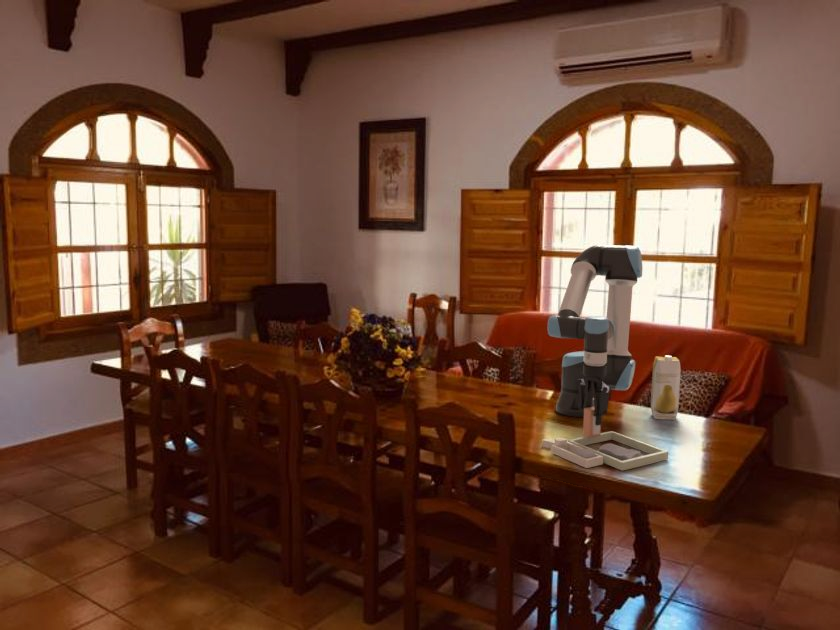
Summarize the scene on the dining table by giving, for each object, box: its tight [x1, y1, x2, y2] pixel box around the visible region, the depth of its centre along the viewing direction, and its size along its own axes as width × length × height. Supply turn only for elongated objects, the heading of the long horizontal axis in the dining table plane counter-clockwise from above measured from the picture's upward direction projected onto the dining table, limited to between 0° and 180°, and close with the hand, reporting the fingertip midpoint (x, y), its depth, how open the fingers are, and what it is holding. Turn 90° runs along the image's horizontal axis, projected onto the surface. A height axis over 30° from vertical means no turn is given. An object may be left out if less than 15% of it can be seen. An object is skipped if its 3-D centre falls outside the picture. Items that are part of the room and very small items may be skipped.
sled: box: [551, 437, 604, 469], centre depth 227 cm, size 17×7×4 cm, turn 31°
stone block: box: [597, 443, 642, 461], centre depth 227 cm, size 12×5×10 cm
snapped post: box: [541, 438, 555, 449], centre depth 238 cm, size 5×2×2 cm, turn 49°
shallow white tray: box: [567, 407, 669, 471], centre depth 231 cm, size 25×20×12 cm
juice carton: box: [650, 354, 682, 421], centre depth 271 cm, size 9×8×24 cm
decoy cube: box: [576, 448, 595, 459], centre depth 223 cm, size 4×4×4 cm
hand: (591, 432), depth 241 cm, fingers closed on shallow white tray, 3 cm apart
